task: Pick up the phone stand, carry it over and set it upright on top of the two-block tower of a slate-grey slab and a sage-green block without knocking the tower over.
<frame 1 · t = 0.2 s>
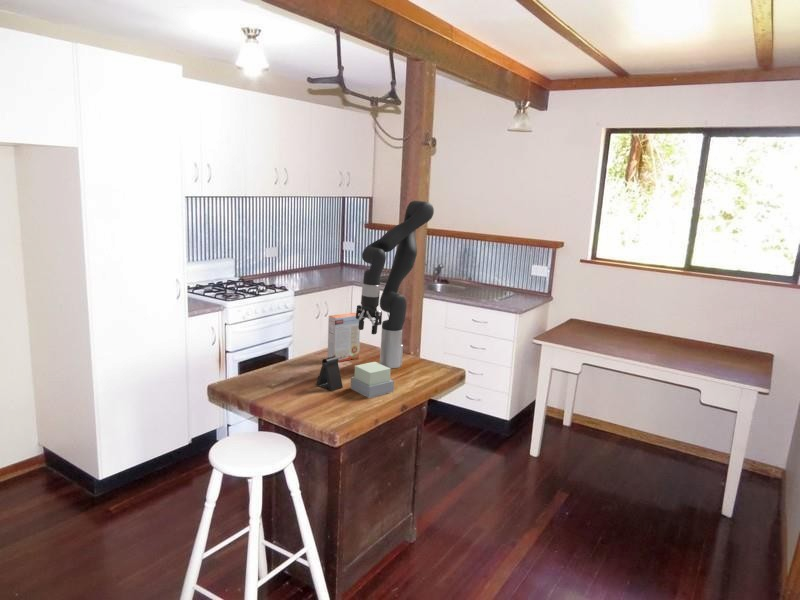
hand: (367, 331, 237), 18 cm above the table, tool pointing down, fingers open, 8 cm apart
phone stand: (329, 387, 219), on the table
tower top block: (372, 379, 217), point 5 cm above the table
tower base slab: (371, 391, 218), on the table
cracker box: (343, 359, 255), on the table
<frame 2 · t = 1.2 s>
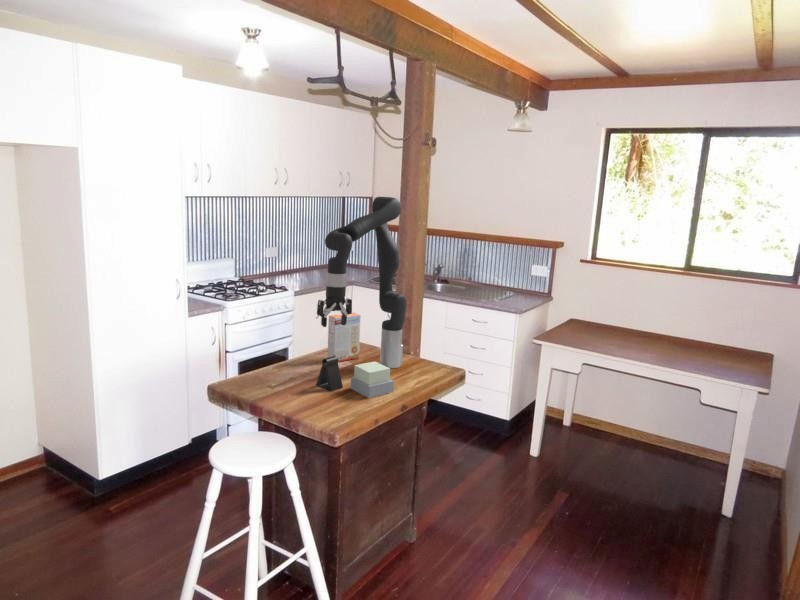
hand: (333, 325, 215), 25 cm above the table, tool pointing down, fingers open, 8 cm apart
tower top block: (371, 379, 217), point 5 cm above the table, touching tower base slab
tower base slab: (371, 391, 218), on the table, touching tower top block
everything else where it was.
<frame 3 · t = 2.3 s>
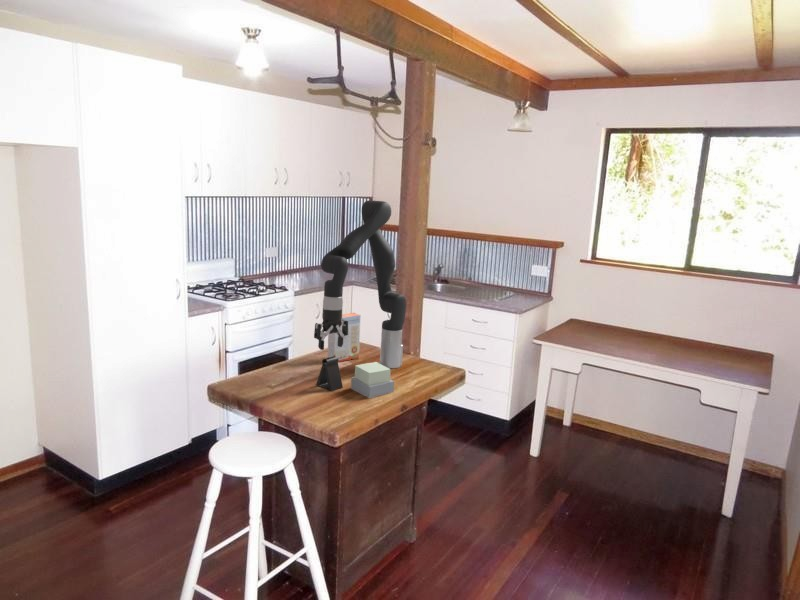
hand: (330, 347, 216), 16 cm above the table, tool pointing down, fingers open, 8 cm apart
nothing on the table moved.
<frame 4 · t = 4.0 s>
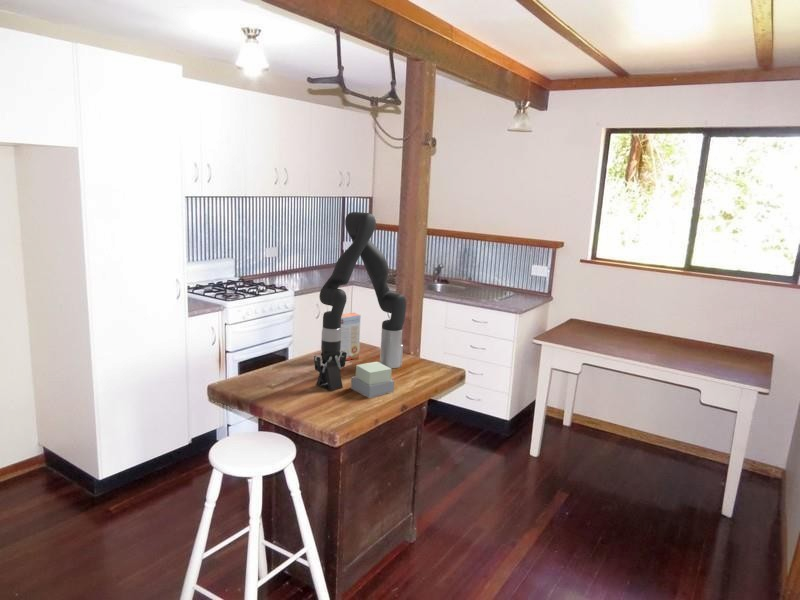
hand: (329, 379, 219), 3 cm above the table, tool pointing down, fingers closed on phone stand, 6 cm apart
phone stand: (329, 387, 219), on the table, touching gripper
tower top block: (373, 379, 217), point 5 cm above the table
tower base slab: (372, 391, 218), on the table
everything else where it was.
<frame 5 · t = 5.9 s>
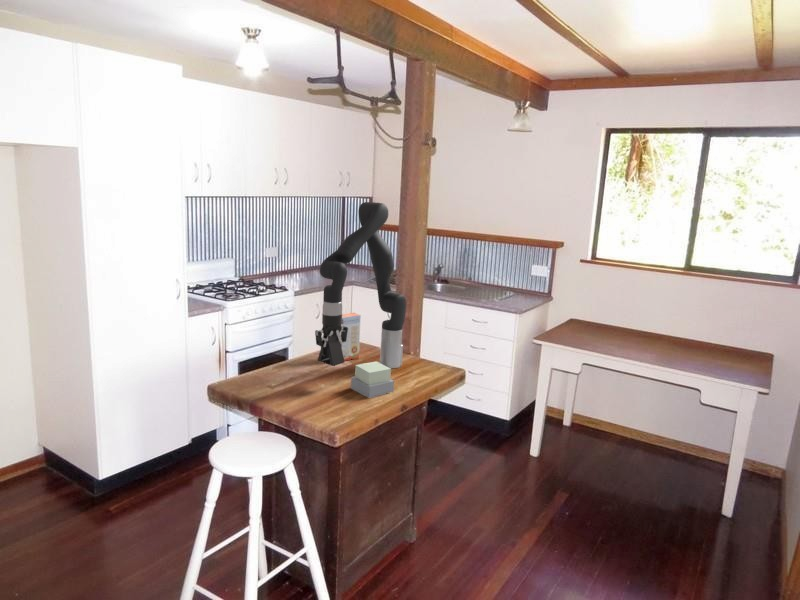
hand: (331, 354, 217), 13 cm above the table, tool pointing down, fingers closed on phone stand, 6 cm apart
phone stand: (330, 362, 217), point 10 cm above the table, touching gripper
tower top block: (372, 379, 217), point 5 cm above the table, touching tower base slab
tower base slab: (371, 391, 218), on the table, touching tower top block
everything else where it was.
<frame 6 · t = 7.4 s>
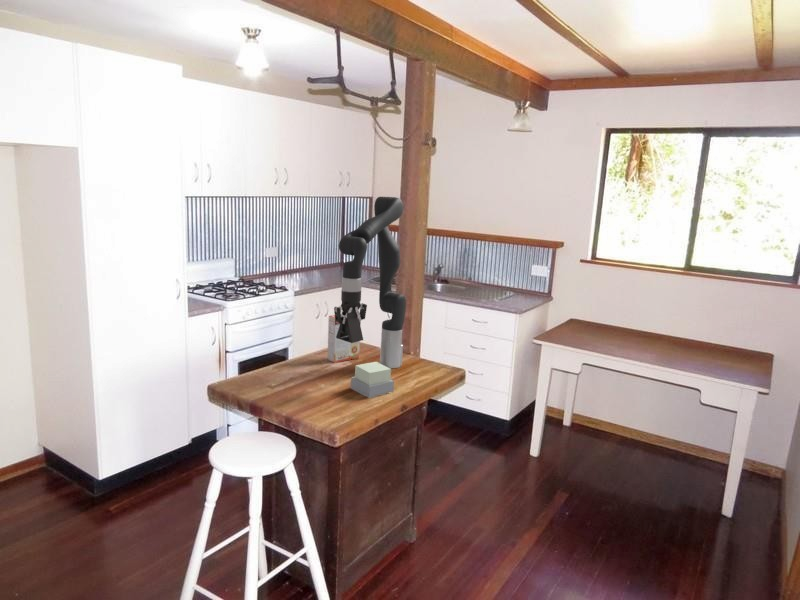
hand: (349, 331, 215), 23 cm above the table, tool pointing down, fingers closed on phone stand, 6 cm apart
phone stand: (349, 339, 215), point 20 cm above the table, touching gripper
tower top block: (372, 379, 217), point 5 cm above the table
tower base slab: (371, 391, 218), on the table
everything else where it was.
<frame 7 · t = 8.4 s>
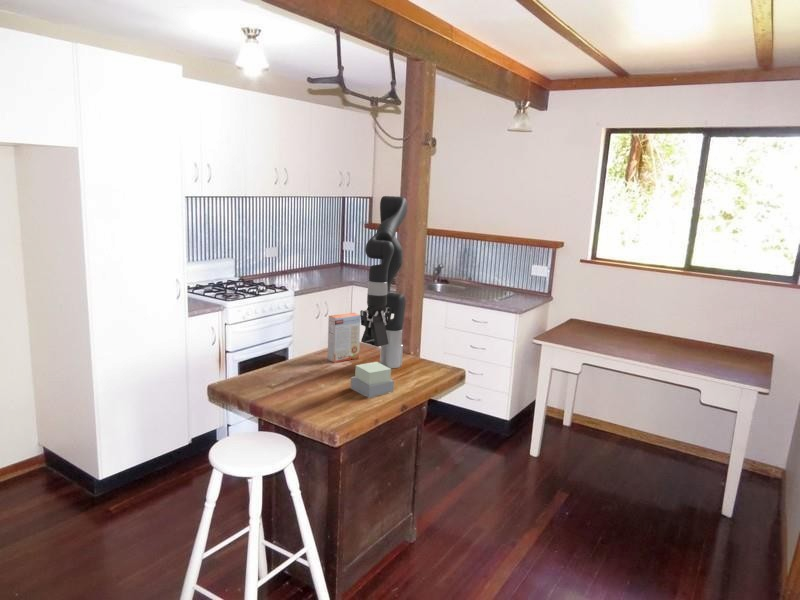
hand: (375, 335, 214), 22 cm above the table, tool pointing down, fingers closed on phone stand, 6 cm apart
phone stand: (374, 343, 215), point 19 cm above the table, touching gripper
tower top block: (372, 379, 217), point 5 cm above the table, touching tower base slab
tower base slab: (371, 391, 218), on the table, touching tower top block
everything else where it was.
when the fingers open (15 cm above the table, at t = 10.6 s): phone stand drops 2 cm, resting on tower top block.
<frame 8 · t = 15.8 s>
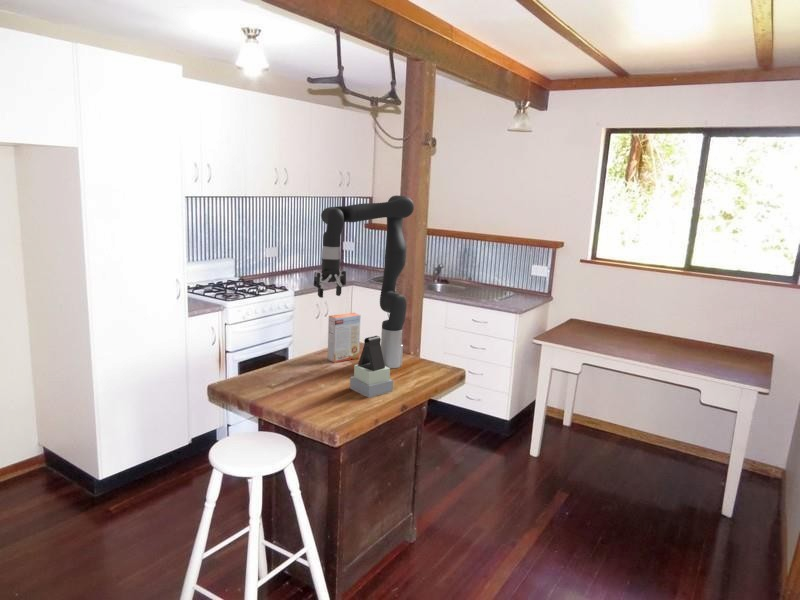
hand: (329, 296, 228), 33 cm above the table, tool pointing down, fingers open, 8 cm apart
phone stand: (371, 367, 216), point 10 cm above the table, touching tower top block
tower top block: (371, 378, 217), point 5 cm above the table, touching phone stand, tower base slab
everything else where it was.
at the end: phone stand inside the target area on the tower top block (0.4 cm from its centre), point 4.9 cm above the tower top block's base; tower top block 0.4 cm off-centre on the tower base slab, point 5.0 cm above the tower base slab's base; the gripper is holding nothing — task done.
